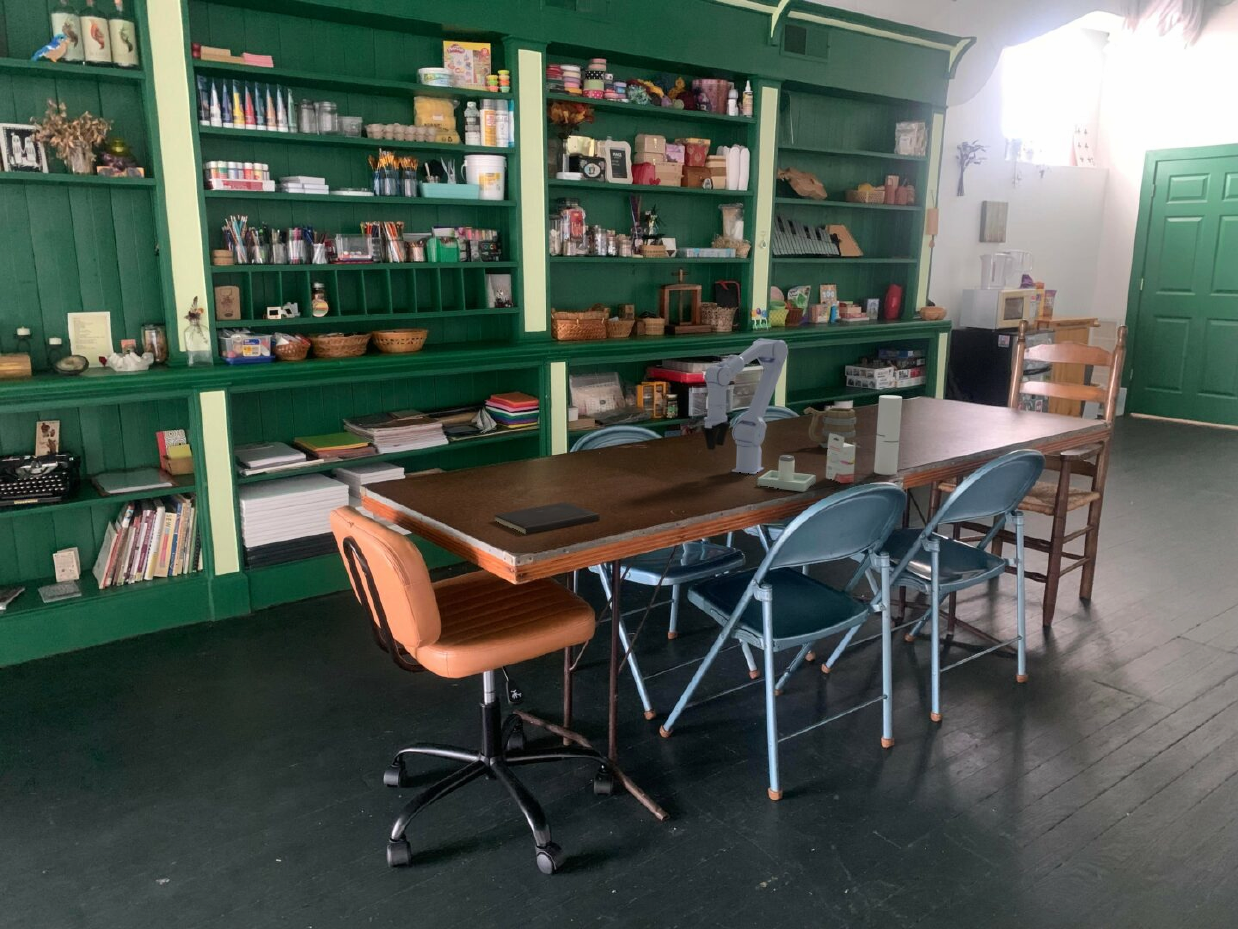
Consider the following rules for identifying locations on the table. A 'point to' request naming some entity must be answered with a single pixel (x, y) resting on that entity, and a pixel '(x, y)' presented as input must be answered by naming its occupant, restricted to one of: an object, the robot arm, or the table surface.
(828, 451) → the ink cartridge box
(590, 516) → the hardcover book
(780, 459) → the shaker
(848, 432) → the tankard
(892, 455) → the cylindrical container
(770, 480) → the tray
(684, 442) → the table surface
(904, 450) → the table surface
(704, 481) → the table surface
